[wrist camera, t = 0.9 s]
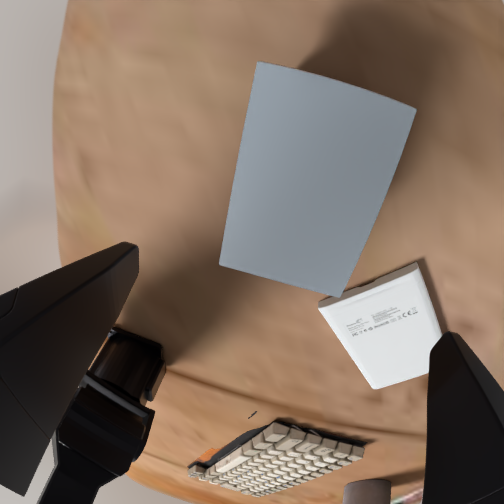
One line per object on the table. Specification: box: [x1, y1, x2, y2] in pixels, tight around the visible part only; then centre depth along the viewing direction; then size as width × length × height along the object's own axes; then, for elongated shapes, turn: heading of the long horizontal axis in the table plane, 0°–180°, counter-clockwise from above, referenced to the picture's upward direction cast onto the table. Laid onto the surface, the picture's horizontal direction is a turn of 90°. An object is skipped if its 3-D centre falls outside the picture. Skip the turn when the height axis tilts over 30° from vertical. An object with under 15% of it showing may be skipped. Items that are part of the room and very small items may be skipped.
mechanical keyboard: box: [187, 411, 368, 497], centre depth 46 cm, size 38×19×3 cm, turn 158°
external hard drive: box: [318, 262, 442, 389], centre depth 25 cm, size 2×8×12 cm
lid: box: [219, 61, 417, 298], centre depth 14 cm, size 7×10×1 cm, turn 169°
